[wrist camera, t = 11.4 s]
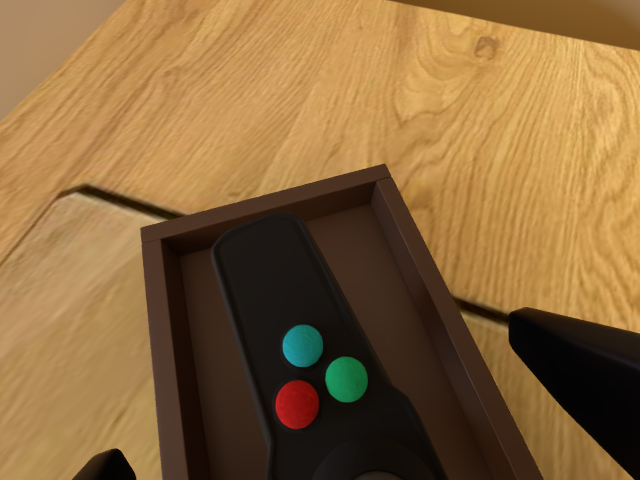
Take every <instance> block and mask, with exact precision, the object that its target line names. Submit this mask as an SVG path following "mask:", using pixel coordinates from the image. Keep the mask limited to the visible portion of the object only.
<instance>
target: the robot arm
mask: <svg viewBox="0 0 640 480" xmlns="http://www.w3.org/2000/svg"><path fill="white" fill-rule="evenodd" d="M508 331H509V343H510V345H511V347H512V349H513V350H514V352H515V353H516V354H517V355H518V356H519V358H520V359H521V360H522V361H523V362H524V363H525V365H526V366H527V367H528V368H529V369H530V371H531V372H532V373H533V374H534V375H535V376H536V378H537V379H538V380H539V381H540V382H541V383H542V385H543V386H544V387H545V388H546V389H547V391H548V392H549V393H550V394H551V395H552V396H553V398H554V399H555V400H556V401H557V402H558V403H559V404H560V405H561V407H562V408H563V409H564V410H565V411H566V412H567V413H568V414H569V415H570V416H571V417H572V418H573V419H574V420H575V421H576V422H577V423H578V424H579V425H580V426H581V427H582V428H583V429H584V430H585V431H586V432H587V433H588V434H589V435H590V436H591V437H592V438H593V439H594V440H595V441H596V442H597V443H598V444H599V445H600V446H601V447H602V448H603V449H604V450H605V451H606V452H607V453H608V454H609V455H610V456H611V457H612V458H613V459H614V460H615V461H616V462H617V463H618V464H619V465H620V466H621V467H622V468H623V469H624V470H625V471H626V472H627V473H628V474H629V475H630V476H631V477H632V478H633V479H634V480H640V333H636V332H631V331H627V330H623V329H619V328H614V327H610V326H606V325H602V324H597V323H593V322H589V321H585V320H580V319H576V318H572V317H568V316H563V315H559V314H555V313H551V312H546V311H542V310H538V309H533V308H529V307H524V308H521V309H518V310H515V311H512V312H511V313H510V314H509V316H508ZM72 480H136V475H135V473H134V471H133V469H132V468H131V466H130V465H129V463H128V461H127V460H126V458H125V457H124V455H123V453H122V452H121V451H120V450H119V449H111V450H108V451H105V452H102V453H99V454H97V455H95V456H94V457H92V458H91V459H90V460H89V462H88V463H87V464H86V465H85V466H84V467H83V468H82V469H81V470H80V471H79V472H78V473H77V475H76V476H75V477H74V478H73V479H72Z"/></svg>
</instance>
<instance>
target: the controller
mask: <svg viewBox="0 0 640 480" xmlns="http://www.w3.org/2000/svg"><path fill="white" fill-rule="evenodd" d="M211 261H212V265H213V268H214V272H215V275H216V278H217V282H218V285H219V289H220V292H221V296H222V299H223V302H224V306H225V309H226V313H227V316H228V319H229V323H230V326H231V329H232V333H233V336H234V339H235V343H236V346H237V350H238V353H239V356H240V360H241V363H242V366H243V370H244V373H245V376H246V380H247V383H248V387H249V390H250V393H251V397H252V400H253V404H254V407H255V410H256V414H257V417H258V421H259V424H260V427H261V431H262V434H263V437H264V441H265V444H266V446H267V449H268V454H267V464H266V476H267V480H449V478H448V476H447V474H446V472H445V470H444V468H443V465H442V463H441V461H440V459H439V457H438V455H437V453H436V450H435V448H434V446H433V444H432V442H431V440H430V437H429V435H428V433H427V431H426V429H425V427H424V424H423V422H422V420H421V418H420V416H419V414H418V413H417V411H416V409H415V408H414V406H413V404H412V403H411V401H410V399H409V398H408V396H406V395H405V394H404V393H403V392H401V391H400V390H399V389H397V388H396V387H395V386H394V385H392V382H391V380H390V378H389V376H388V374H387V373H386V371H385V369H384V367H383V365H382V363H381V361H380V360H379V358H378V356H377V354H376V352H375V350H374V349H373V347H372V345H371V343H370V341H369V339H368V337H367V336H366V334H365V332H364V330H363V328H362V326H361V324H360V323H359V321H358V319H357V317H356V315H355V313H354V311H353V310H352V308H351V306H350V304H349V302H348V300H347V298H346V297H345V295H344V293H343V291H342V289H341V287H340V286H339V284H338V282H337V280H336V278H335V276H334V274H333V273H332V271H331V269H330V267H329V265H328V263H327V261H326V260H325V258H324V256H323V254H322V252H321V250H320V248H319V247H318V245H317V243H316V241H315V239H314V238H313V236H312V234H311V232H310V230H309V229H308V227H307V225H306V223H305V222H304V220H303V219H302V218H300V217H299V216H298V215H297V214H295V213H291V212H276V213H271V214H268V215H265V216H262V217H260V218H257V219H254V220H252V221H249V222H246V223H244V224H241V225H238V226H236V227H233V228H232V229H230V230H228V231H227V232H225V233H224V234H223V235H222V236H221V237H219V238H218V239H217V241H216V242H215V243H214V244H213V246H212V249H211Z"/></svg>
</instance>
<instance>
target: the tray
mask: <svg viewBox="0 0 640 480" xmlns="http://www.w3.org/2000/svg"><path fill="white" fill-rule="evenodd" d="M276 212H291V213H295V214H297V215H298V216H299V217H300V218H302V219H303V220H304V222H305V223H306V225H307V227H308V229H309V230H310V232H311V234H312V236H313V238H314V239H315V241H316V243H317V245H318V247H319V248H320V250H321V252H322V254H323V256H324V258H325V260H326V261H327V263H328V265H329V267H330V269H331V271H332V273H333V274H334V276H335V278H336V280H337V282H338V284H339V286H340V287H341V289H342V291H343V293H344V295H345V297H346V298H347V300H348V302H349V304H350V306H351V308H352V310H353V311H354V313H355V315H356V317H357V319H358V321H359V323H360V324H361V326H362V328H363V330H364V332H365V334H366V336H367V337H368V339H369V341H370V343H371V345H372V347H373V349H374V350H375V352H376V354H377V356H378V358H379V360H380V361H381V363H382V365H383V367H384V369H385V371H386V373H387V374H388V376H389V378H390V380H391V382H392V385H394V386H395V387H396V388H397V389H399V390H400V391H401V392H403V393H404V394H405V395H406V396H408V398H409V399H410V401H411V403H412V404H413V406H414V408H415V409H416V411H417V413H418V414H419V416H420V418H421V420H422V422H423V424H424V427H425V429H426V431H427V433H428V435H429V437H430V440H431V442H432V444H433V446H434V448H435V450H436V453H437V455H438V457H439V459H440V461H441V463H442V465H443V468H444V470H445V472H446V474H447V476H448V478H449V480H544V479H543V477H542V475H541V473H540V471H539V469H538V467H537V465H536V463H535V461H534V459H533V457H532V455H531V453H530V451H529V449H528V447H527V445H526V443H525V441H524V439H523V437H522V435H521V433H520V431H519V429H518V427H517V425H516V423H515V421H514V419H513V417H512V415H511V413H510V411H509V409H508V407H507V405H506V403H505V401H504V399H503V397H502V395H501V393H500V391H499V389H498V387H497V385H496V383H495V381H494V379H493V377H492V375H491V373H490V371H489V369H488V367H487V366H486V364H485V362H484V360H483V358H482V356H481V354H480V352H479V350H478V348H477V346H476V344H475V342H474V340H473V338H472V336H471V334H470V332H469V330H468V328H467V326H466V324H465V322H464V320H463V318H462V316H461V314H460V312H459V310H458V308H457V306H456V304H455V302H454V300H453V298H452V296H451V294H450V292H449V290H448V288H447V286H446V284H445V282H444V280H443V278H442V276H441V274H440V272H439V270H438V268H437V266H436V264H435V262H434V260H433V258H432V256H431V254H430V252H429V250H428V248H427V246H426V244H425V242H424V240H423V238H422V236H421V234H420V232H419V230H418V228H417V226H416V224H415V222H414V220H413V218H412V216H411V214H410V212H409V210H408V208H407V206H406V204H405V202H404V200H403V198H402V196H401V194H400V192H399V190H398V188H397V186H396V184H395V182H394V180H393V178H392V177H391V174H390V172H389V170H388V168H387V166H386V164H381V165H378V166H374V167H370V168H366V169H362V170H359V171H355V172H351V173H347V174H343V175H340V176H336V177H332V178H328V179H324V180H320V181H317V182H313V183H309V184H305V185H301V186H298V187H294V188H290V189H286V190H282V191H279V192H275V193H271V194H267V195H263V196H260V197H256V198H252V199H248V200H244V201H241V202H237V203H233V204H229V205H225V206H222V207H218V208H214V209H210V210H206V211H202V212H199V213H195V214H191V215H187V216H183V217H180V218H176V219H172V220H168V221H164V222H161V223H157V224H153V225H149V226H145V227H142V228H140V230H141V241H142V255H143V267H144V278H145V289H146V300H147V311H148V323H149V334H150V345H151V356H152V367H153V379H154V390H155V401H156V412H157V424H158V435H159V446H160V457H161V468H162V480H267V476H266V464H267V454H268V449H267V446H266V444H265V441H264V437H263V434H262V431H261V427H260V424H259V421H258V417H257V414H256V410H255V407H254V404H253V400H252V397H251V393H250V390H249V387H248V383H247V380H246V376H245V373H244V370H243V366H242V363H241V360H240V356H239V353H238V350H237V346H236V343H235V339H234V336H233V333H232V329H231V326H230V323H229V319H228V316H227V313H226V309H225V306H224V302H223V299H222V296H221V292H220V289H219V285H218V282H217V278H216V275H215V272H214V268H213V265H212V261H211V249H212V246H213V244H214V243H215V242H216V241H217V239H218V238H219V237H221V236H222V235H223V234H224V233H225V232H227V231H228V230H230V229H232V228H233V227H236V226H238V225H241V224H244V223H246V222H249V221H252V220H254V219H257V218H260V217H262V216H265V215H268V214H271V213H276Z"/></svg>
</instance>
